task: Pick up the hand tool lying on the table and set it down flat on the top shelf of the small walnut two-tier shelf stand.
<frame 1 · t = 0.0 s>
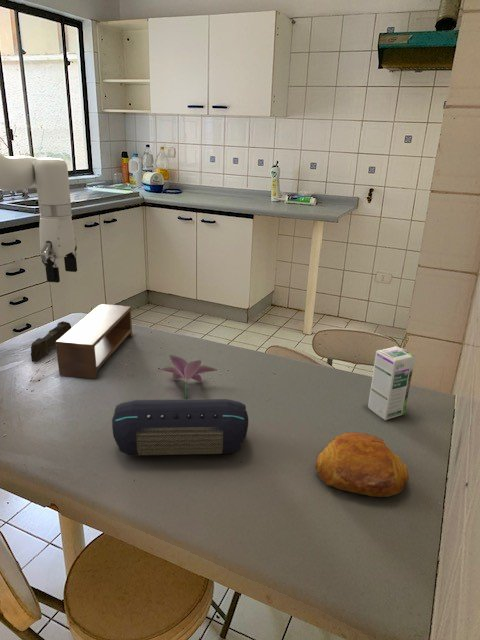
hand: (62, 276, 122), 19 cm above the table, tool pointing down, fingers open, 9 cm apart
portable speaker: (181, 449, 88), on the table
syrup box: (385, 412, 103), on the table
shelf stand: (99, 353, 123), on the table
lily: (187, 389, 108), on the table
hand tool: (52, 348, 125), on the table
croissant: (359, 475, 83), on the table
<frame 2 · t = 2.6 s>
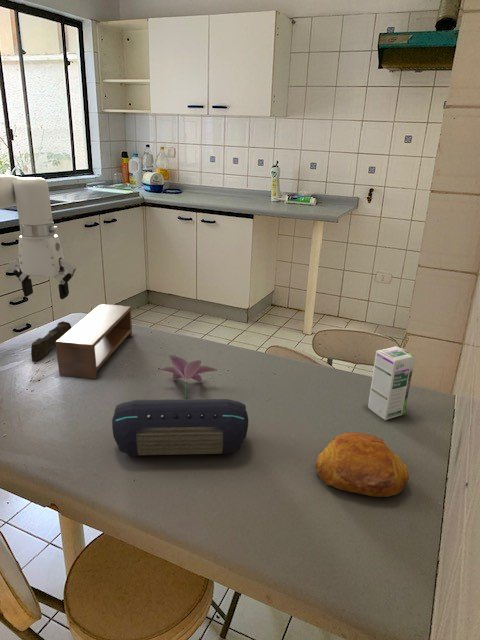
hand: (46, 296, 120), 15 cm above the table, tool pointing down, fingers open, 9 cm apart
nothing on the table moved.
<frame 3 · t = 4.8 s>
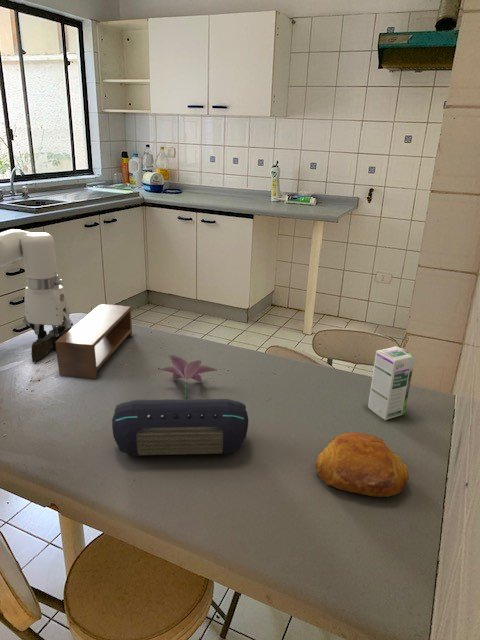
hand: (50, 346, 125), 0 cm above the table, tool pointing down, fingers closed on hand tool, 3 cm apart
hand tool: (52, 348, 125), on the table, touching gripper
everything else where it was.
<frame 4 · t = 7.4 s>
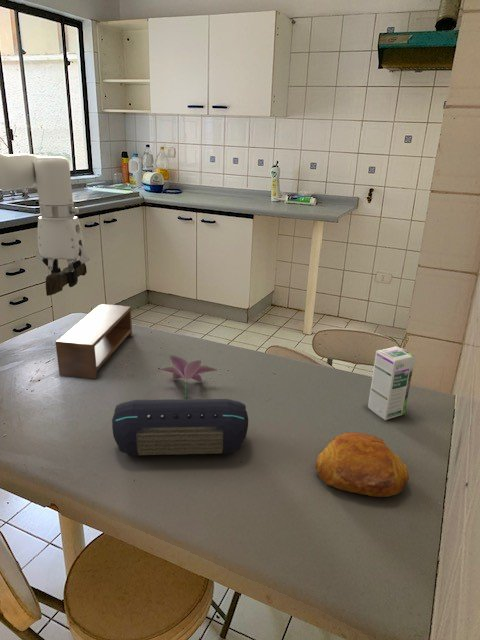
hand: (65, 284, 117), 18 cm above the table, tool pointing down, fingers closed on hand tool, 3 cm apart
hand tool: (67, 286, 117), point 18 cm above the table, touching gripper
everything else where it was.
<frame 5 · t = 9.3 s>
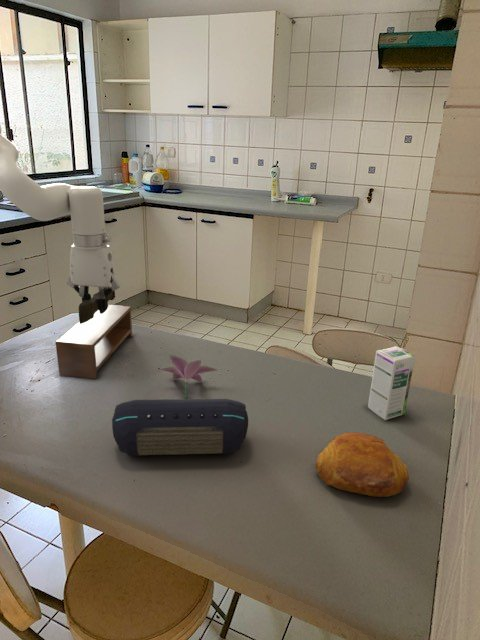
hand: (95, 310, 118), 12 cm above the table, tool pointing down, fingers closed on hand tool, 3 cm apart
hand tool: (97, 312, 118), point 12 cm above the table, touching gripper
everything else where it was.
when the fingers open (9 cm above the table, at t = 10.4 s): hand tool stays where it is, resting on shelf stand.
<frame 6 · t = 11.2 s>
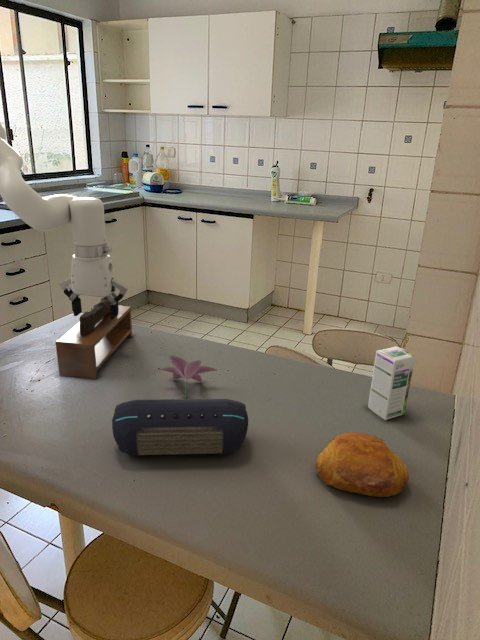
hand: (95, 315, 119), 11 cm above the table, tool pointing down, fingers open, 9 cm apart
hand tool: (98, 323, 119), point 9 cm above the table, touching shelf stand
everything else where it was.
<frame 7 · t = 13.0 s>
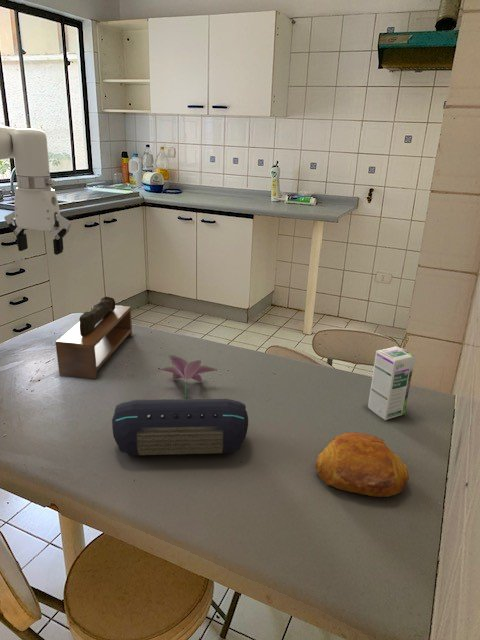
hand: (40, 251, 120), 25 cm above the table, tool pointing down, fingers open, 9 cm apart
nothing on the table moved.
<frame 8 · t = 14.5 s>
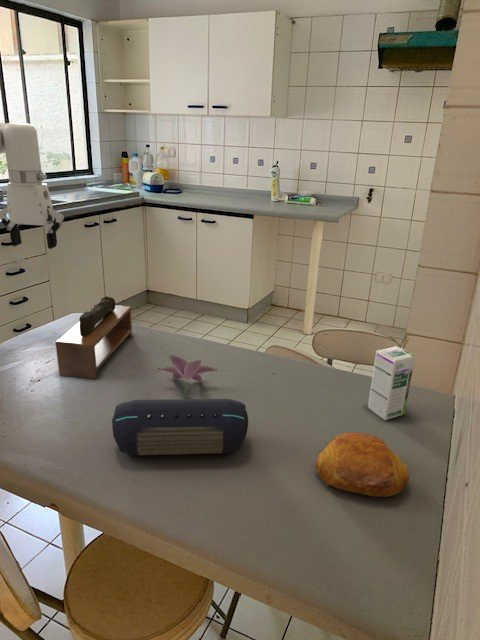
hand: (34, 246, 120), 26 cm above the table, tool pointing down, fingers open, 9 cm apart
nothing on the table moved.
at the end: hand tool inside the target area on the shelf stand (0.5 cm from its centre), point 8.8 cm above the shelf stand's base; the gripper is holding nothing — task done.
